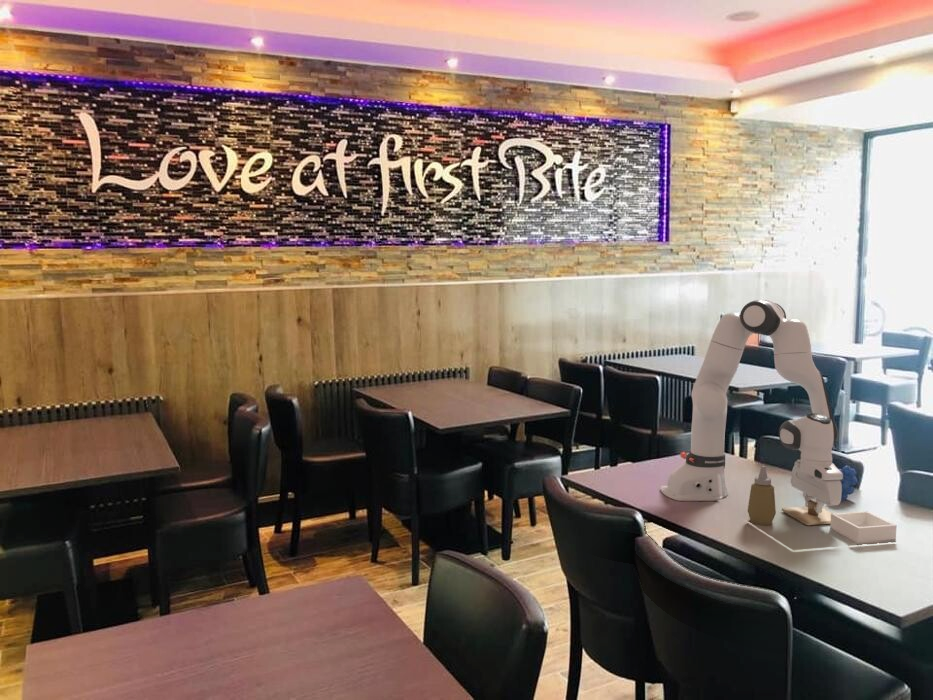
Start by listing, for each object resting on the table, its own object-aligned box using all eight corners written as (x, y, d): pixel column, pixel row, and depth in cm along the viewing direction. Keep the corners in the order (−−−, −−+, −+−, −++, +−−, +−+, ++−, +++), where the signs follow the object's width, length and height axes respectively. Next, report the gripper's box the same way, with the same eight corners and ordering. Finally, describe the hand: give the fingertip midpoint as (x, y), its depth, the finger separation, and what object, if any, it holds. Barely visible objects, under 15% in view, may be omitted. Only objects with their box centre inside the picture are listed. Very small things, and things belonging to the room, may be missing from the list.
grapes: (844, 494, 249) (846, 460, 248) (861, 500, 243) (863, 466, 241) (818, 498, 245) (820, 464, 244) (834, 505, 239) (836, 469, 238)
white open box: (857, 545, 206) (858, 528, 205) (830, 529, 217) (831, 513, 217) (895, 542, 207) (896, 525, 207) (866, 527, 219) (866, 511, 219)
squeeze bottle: (762, 529, 218) (765, 471, 216) (741, 521, 225) (743, 465, 223) (781, 525, 222) (783, 468, 219) (759, 517, 229) (761, 461, 227)
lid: (806, 525, 219) (807, 509, 218) (781, 510, 231) (782, 496, 231) (845, 522, 221) (846, 507, 220) (818, 508, 233) (819, 493, 233)
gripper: (786, 458, 234) (784, 499, 236) (827, 476, 214) (824, 522, 215) (804, 457, 235) (802, 498, 236) (846, 475, 215) (844, 520, 216)
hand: (813, 509), depth 226 cm, fingers closed on lid, 3 cm apart
